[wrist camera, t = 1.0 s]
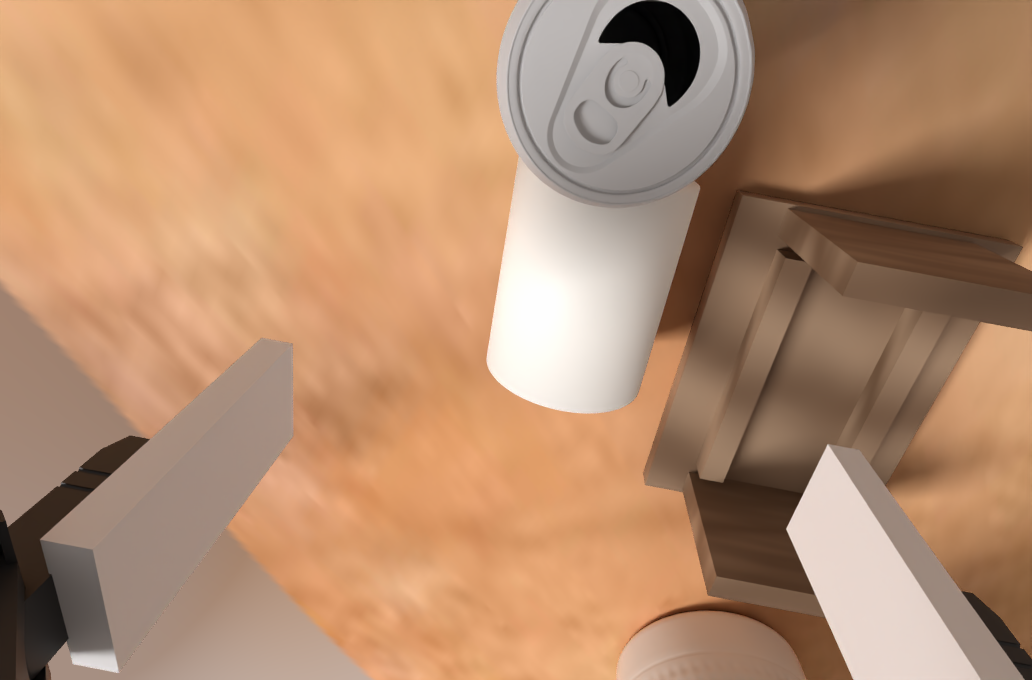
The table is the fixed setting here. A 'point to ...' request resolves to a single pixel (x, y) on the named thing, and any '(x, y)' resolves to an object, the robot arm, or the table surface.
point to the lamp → (708, 650)
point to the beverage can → (623, 93)
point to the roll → (582, 295)
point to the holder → (814, 370)
